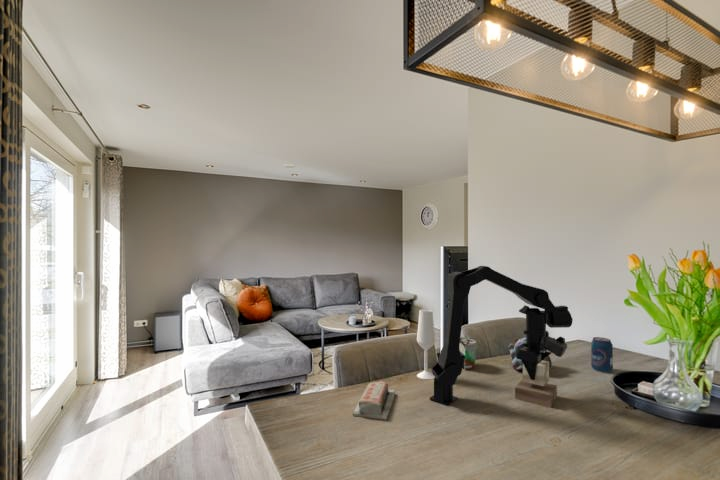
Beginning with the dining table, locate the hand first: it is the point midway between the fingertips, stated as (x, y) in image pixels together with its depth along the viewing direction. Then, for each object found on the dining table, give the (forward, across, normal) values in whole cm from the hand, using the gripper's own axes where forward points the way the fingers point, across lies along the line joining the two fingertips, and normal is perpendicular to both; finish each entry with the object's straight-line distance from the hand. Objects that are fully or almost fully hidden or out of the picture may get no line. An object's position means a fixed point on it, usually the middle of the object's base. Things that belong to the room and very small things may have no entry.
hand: (535, 377), depth 115 cm
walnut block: (+7, 0, 0) cm, 7 cm away
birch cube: (+1, 0, 0) cm, 1 cm away
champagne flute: (+7, -7, +36) cm, 37 cm away
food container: (+7, +14, +29) cm, 33 cm away
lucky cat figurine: (+7, +27, +11) cm, 30 cm away
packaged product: (+7, -38, +35) cm, 52 cm away
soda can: (+7, +44, -11) cm, 46 cm away
